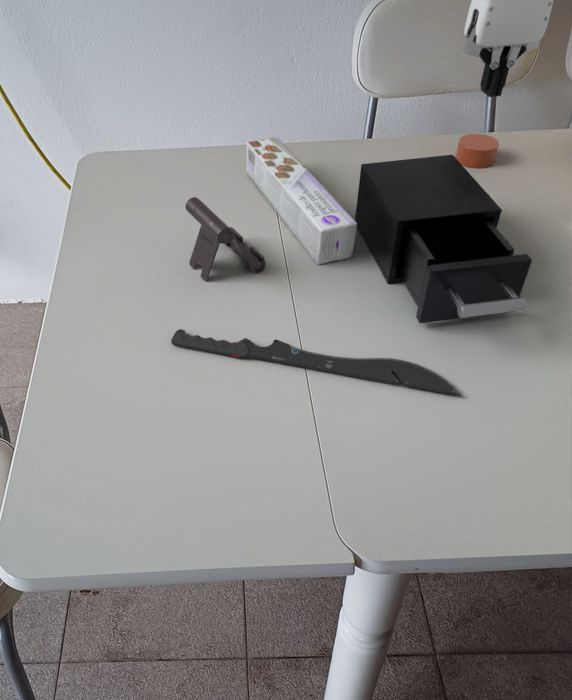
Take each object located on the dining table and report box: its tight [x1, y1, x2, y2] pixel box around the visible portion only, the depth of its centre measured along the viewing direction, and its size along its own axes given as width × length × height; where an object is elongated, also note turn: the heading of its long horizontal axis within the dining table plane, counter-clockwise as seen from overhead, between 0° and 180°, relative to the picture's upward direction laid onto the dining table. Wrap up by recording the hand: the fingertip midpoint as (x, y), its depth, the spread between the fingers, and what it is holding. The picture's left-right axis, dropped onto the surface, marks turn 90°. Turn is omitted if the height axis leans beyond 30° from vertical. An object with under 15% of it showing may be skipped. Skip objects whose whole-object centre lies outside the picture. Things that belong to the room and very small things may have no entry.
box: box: [246, 136, 358, 265], centre depth 93 cm, size 27×5×6 cm, turn 19°
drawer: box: [396, 217, 533, 324], centre depth 75 cm, size 18×11×7 cm, turn 8°
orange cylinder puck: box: [455, 133, 500, 169], centre depth 103 cm, size 6×6×3 cm
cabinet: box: [354, 154, 503, 285], centre depth 84 cm, size 15×13×9 cm
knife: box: [170, 328, 462, 396], centre depth 71 cm, size 32×4×1 cm, turn 72°
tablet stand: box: [185, 196, 266, 282], centre depth 83 cm, size 9×8×8 cm
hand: (490, 93), depth 95 cm, fingers closed
